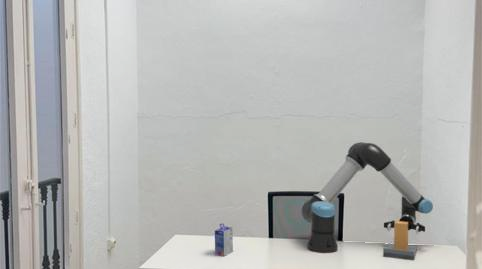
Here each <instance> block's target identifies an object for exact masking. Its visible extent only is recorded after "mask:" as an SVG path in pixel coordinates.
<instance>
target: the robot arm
mask: <svg viewBox="0 0 482 269" xmlns="http://www.w3.org/2000/svg"><path fill="white" fill-rule="evenodd" d="M344 159H345V161H344V163H343V164H341V166H340V167H339V169H338V170H337V171H336V172H335V173H334V175H333V176H332V177H331V178H330V179H329V181H328V182H327V183H326V184H325V185H324V187H323V188H322V189H321V190H320V191H319V192H318V193H317V194H316V193H315V194H313V195H312V197H311V198H310V199H307V200H305V201H304V202H303V203H302V204H301V206H300V213H301V214H300V215H301V216H302V218H303V219H304V220H305V221H306V222H308V223H310V224H311V229H310V230H311V233H310V236H309V239H308V241H307V249H308V250H309V251H311V252H316V253H335V252H337V251H338V242H337V239H336V235H335V225H336V224H335V222H336V220H335V218H336V217H335V215H336V211H335V210H336V209H335V206H334V204H333V202H334V201H335V199H336V198H338V196H339V195H340V194H341V192H342V191H343V190H344V189H345V188H346V187H347V186H348V184H349V183H350V182H351V181H352V179H353V178H355V175H357V173H358V172H359V171H360V172H361V171H363V170H364V169H365V168H366V167H367V166H370V167H371V168H373V169H375V171H376V172H380V173H381V175H383V176H384V178H385V179H387V181H388V182H389V183H390V184H391V185H392V186H393V187H394V188H395V189H396V190H397V191H398V193H399V194H400V195H401V213H400V214H401V217H400V218H399V220H398V221H401V222H408V231H410V230H413V231H414V230H415V234H416V235H418V234H419V232H425V233H426V226H424V225H423V224H420V223H419V222H417V223H416V221H417V215H416V213H417V212H418V213H420V214H430V213H431V212H432V211H433V209H434V204H433V202H432V200H429V199H427V198H425V197H424V196H423V195H422V193H420V192H419V191H418V189H416V187H415V186H414V185H413V184H412V183H411V182H410V181H409V180H408V179H407V177H405V176H404V174H403V173H402V172H401V171H400V170H399V169H398V168H397V167H396V166H395V165H394V164H393V162H392V159H391V158H390V156H389V155H388V154H387V153H386V152H385V151H384V150H382V148H381V147H380V146H379V145H378V144H375V143H371V142H361V141H360V142H356V143H353V144H352V145H351V146H349V148H348V151H347V154H346V156H345V158H344ZM395 222H396V220H391V221H387V222H386V221H385V222H383V228H385V229H387V232H390V231H391V229H392V228H393V229H394V224H395Z"/></svg>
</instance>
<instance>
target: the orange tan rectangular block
mask: <svg viewBox="0 0 482 269" xmlns="http://www.w3.org/2000/svg"><path fill="white" fill-rule="evenodd" d="M393 229H394V230H393V231H394V233H393V234H394V235H393V236H394V237H393V244H394V249H399V250H407V249H408V246H409V230H408V222H401V221H399V220H395V224H394V228H393Z"/></svg>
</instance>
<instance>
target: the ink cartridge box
mask: <svg viewBox="0 0 482 269" xmlns="http://www.w3.org/2000/svg"><path fill="white" fill-rule="evenodd" d="M218 225H219V227H220V228H218V229H215V230H214V255H215V256H219V257H226V256H227V255H229V254H231V253H232V252H234V249H233V248H234V236H233V235H234V232H233V230H234V228H233V226H225V224H224V223H223V222H222V223H219V224H218Z"/></svg>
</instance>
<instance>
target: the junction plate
mask: <svg viewBox="0 0 482 269" xmlns="http://www.w3.org/2000/svg"><path fill="white" fill-rule="evenodd" d="M417 251H418V246H415V245H408V249H407V250H399V249H394V243H387V245H386V246H385V247H383V248H382V257H385V258H394V259H402V260H408V261H410V260H411V261H414V260H415V257H416V255H417Z"/></svg>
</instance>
